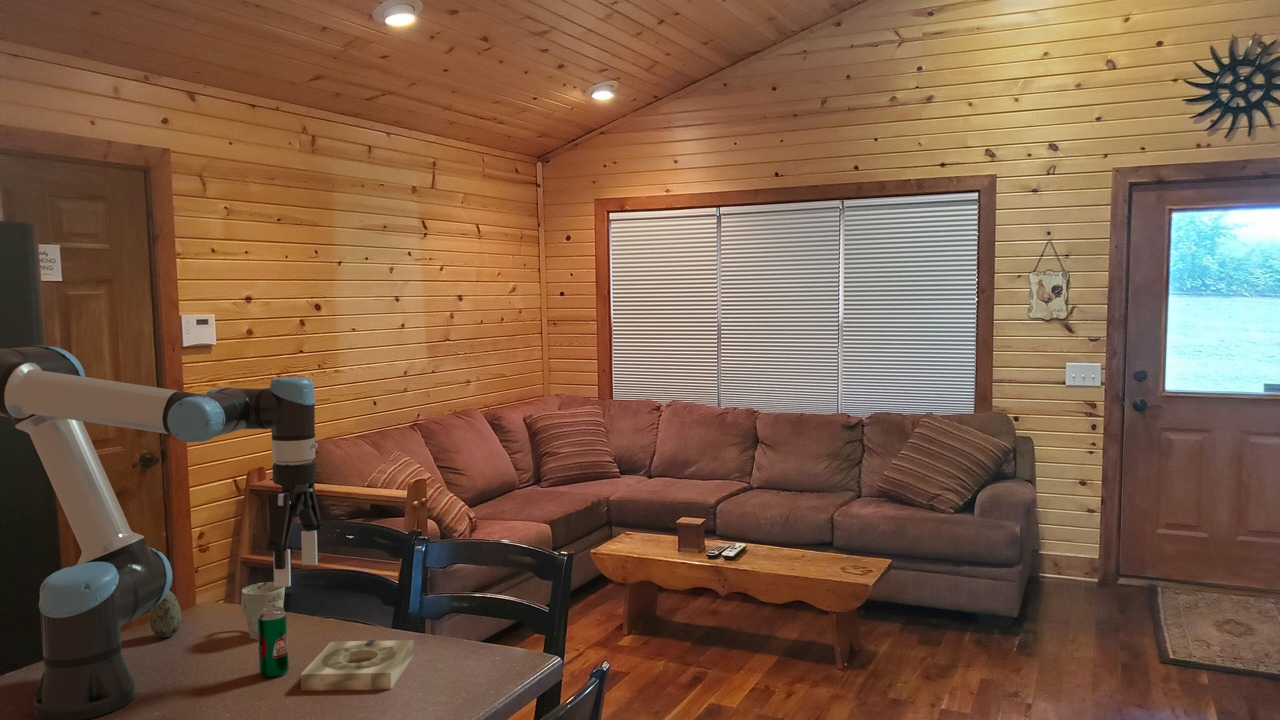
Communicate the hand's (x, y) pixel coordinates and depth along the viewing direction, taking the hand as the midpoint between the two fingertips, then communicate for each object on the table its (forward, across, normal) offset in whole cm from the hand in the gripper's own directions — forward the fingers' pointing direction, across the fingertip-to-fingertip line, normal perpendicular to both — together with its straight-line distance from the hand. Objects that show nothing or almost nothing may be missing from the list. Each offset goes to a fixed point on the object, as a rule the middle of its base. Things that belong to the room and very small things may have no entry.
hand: (296, 574), depth 172 cm
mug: (+19, +22, +16) cm, 33 cm away
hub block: (+18, 0, -12) cm, 22 cm away
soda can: (+19, 0, +4) cm, 19 cm away
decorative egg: (+20, +21, +35) cm, 45 cm away
